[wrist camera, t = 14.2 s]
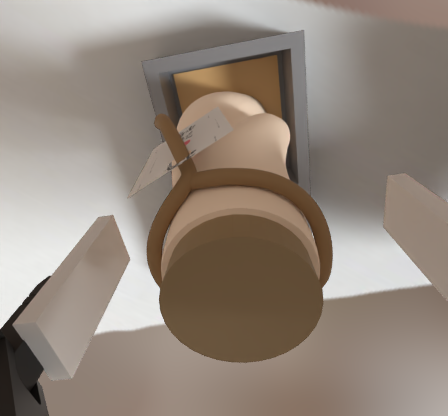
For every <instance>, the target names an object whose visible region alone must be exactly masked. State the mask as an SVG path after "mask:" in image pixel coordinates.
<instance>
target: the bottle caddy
mask: <svg viewBox="0 0 448 416" xmlns="http://www.w3.org/2000/svg"><path fill="white" fill-rule="evenodd" d="M141 62H142V66H143V70H144V73H145V77H146V81H147V84H148V88H149V92H150V96H151V99H152V103H153V107H154V111H155V114H156V116H157V115H158V114H165V115H167V116H168V117H169V118H170V119H171V121H172V122H173V124H174V126H175V127H176V129H177V126H178V123H179V120H180V118H181V116H182V114H183V113H184V111H185V110H186V109H187V108H188V107H189V106H190V105H191V104H192V103H193V102H194V101H196V100H197V99H199V98H201V97H203V96H205V95H208V94H211V93H216V92H224V91H229V92H236V93H241V94H246V95H249V96H251V97H253V98H255V99H257V100H258V101H259V102H260V103H261V104H262V105H263V107H264V108H265V110H266V112H267V113H269V114H272V115H275V116H277V117H279V118H281V119H282V120H283V121H284V122H285V123H286V124H287V126H288V128H289V131H290V142H289V145H288V148H287V154H286V170H287V173H288V176H289V179H290V180H291V181H292V182H294V183H296V184H297V185H299V186H300V187H301V188H302V189H304V190H305V191H306V192H307V193H308V194H309V195H310V196H311V193H310V168H309V143H308V118H307V93H306V67H305V42H304V30H301V31H296V32H290V33H285V34H280V35H275V36H270V37H265V38H260V39H254V40H249V41H244V42H239V43H234V44H229V45H224V46H218V47H213V48H208V49H203V50H198V51H193V52H188V53H182V54H177V55H172V56H167V57H162V58H157V59H152V60H146V61H141ZM160 133H161V137H162V140H163V142H165V141H166V140H165V138H164V136H163V134H162V132H161V130H160ZM169 166H170V167H172V162H171V163H170V164H169ZM171 174H172V170H171ZM305 218H306V217H305ZM306 221H307V219H306ZM307 223H308V221H307ZM308 225H309V223H308ZM309 228H310V230H311V227H310V225H309ZM311 233H312V230H311Z"/></svg>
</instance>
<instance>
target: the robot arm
mask: <svg viewBox="0 0 448 416" xmlns="http://www.w3.org/2000/svg"><path fill="white" fill-rule="evenodd" d="M383 227H384V229H385V230H386V231H387V232H388V233H389V234H390V236H391V237H392V238H393V239H394V240H395V241H396V243H397V244H398V245H399V246H400V247H401V248H402V249H403V251H404V252H405V253H406V254H407V255H408V256H409V258H410V259H411V260H412V261H413V262H414V263H415V265H416V266H417V267H418V268H419V269H420V270H421V272H422V273H423V274H424V275H425V276H426V277H427V278H428V280H429V281H430V282H431V283H432V284H433V285H434V286H435V288H436V289H437V290H438V291H439V292H440V294H441V295H442V296H443V297H444V298H445V299H446V300H447V302H448V203H447V202H446V201H444V200H443V199H441V198H440V197H439V196H437V195H436V194H434V193H433V192H431V191H430V190H429V189H427V188H426V187H424V186H423V185H421V184H420V183H419V182H417V181H416V180H414V179H413V178H411V177H410V176H409V175H407V174H406V173H402V174H395V175H388V176H387V188H386V199H385V211H384V222H383ZM129 261H130V257H129V255H128V252H127V250H126V247H125V245H124V242H123V239H122V237H121V234H120V232H119V229H118V227H117V224H116V221H115V219H114V216H113V215H110V216H103V217H98V218H97V220H96V221H95V222H94V223H93V225H92V226H91V227H90V228H89V230H88V231H87V232H86V233H85V235H84V236H83V237H82V238H81V240H80V241H79V242H78V243H77V245H76V246H75V247H74V248H73V250H72V251H71V252H70V253H69V255H68V256H67V257H66V258H65V260H64V261H63V262H62V263H61V265H60V266H59V267H58V268H57V270H56V271H55V272H54V273H53V274H52V276H48V277H47V278H46V279H44V280H43V281H42V282H41V283H39V284H38V285H37V286H36V287H35V288H34V290H33V291H32V292H31V293H30V294H29V297H27V298H26V299H25V300H24V302H23V303H22V305H20V306H19V308H18V309H17V310H16V311H15V312H14V314H13V315H12V316H11V317H10V318H9V320H8V321H7V322H6V323H5V324H4V326H3V327H2V328H1V329H0V416H49V414H48V410H47V406H46V401H45V398H44V393H43V389H42V386H41V385H40V383H39V382H38V378H39V377H40V375H41V373H42V372H43V370H44V371H45V372H46V374H47V375H48V377H49V378H50V379H51V381H53V380H64V379H72V378H73V376H74V374H75V372H76V370H77V367H78V366H79V364H80V362H81V359H82V357H83V355H84V353H85V351H86V349H87V347H88V345H89V343H90V341H91V339H92V337H93V335H94V333H95V331H96V329H97V327H98V325H99V323H100V320H101V318H102V316H103V314H104V312H105V310H106V308H107V306H108V304H109V302H110V300H111V298H112V296H113V294H114V292H115V290H116V288H117V286H118V284H119V281H120V279H121V277H122V275H123V273H124V271H125V269H126V267H127V265H128V263H129Z"/></svg>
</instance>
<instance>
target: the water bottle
mask: <svg viewBox="0 0 448 416" xmlns="http://www.w3.org/2000/svg"><path fill="white" fill-rule="evenodd" d="M154 124H155V127H156V128H157V129H160V130H161V132H162V134H163V136H164V138H165V140H166V141H165V142H163V143H162V144H160V145H159V146H157V147H156V148H154V149H153V151H152V153H151V155H150V157H149V158H148V160H147V162H146V164H145V166H144V168H143V170H142V172H141V173H140V175H139V177H138V179H137V181H136V183H135V185H134V186H133V188H132V190H131V192H130V194H129V196H128V198H129V197H130V196H132V195H134V194H135V193H137V192H138V191H140V190H141V189H143V188H144V187H146V186H148V185H149V184H151V183H152V182H154V181H155V180H157V179H158V178H160V177H161V176H163V175H165V174H166V173H168V172H169V171H171V170H172V190H171V192H170V193H169V195H168V196H167V198H166V199H165V201H164V202H163V204H162V206H161V207H160V209H159V211H158V213H157V215H156V217H155V219H154V221H153V224H152V226H151V229H150V232H149V236H148V241H147V261H148V265H149V269H150V272H151V274H152V276H153V278H154V280H155V282H156V283H157V285H158V286H159V287H160V295H159V303H160V311H161V314H162V317H163V319H164V322H165V324H166V325H167V327H168V328H169V330H170V331H171V333H172V334H173V335H174V336H175V337H176V338H177V339H178V340H179V341H180V342H181V343H183V344H184V345H186V346H187V347H189V348H190V349H192V350H193V351H195V352H198V353H200V354H202V355H204V356H207V357H210V358H213V359H216V360H221V361H228V362H244V363H245V362H246V363H247V362H256V361H262V360H266V359H270V358H274V357H276V356H279V355H281V354H284V353H286V352H288V351H289V350H291V349H293V348H294V347H296V346H298V345H299V344H300V343H301V342H302V341H304V340H305V339H306V338H307V337H308V336H309V335H310V333H311V332H312V331H313V329H314V328H315V327H316V325H317V323H318V321H319V318H320V316H321V313H322V306H323V292H322V288H323V286H324V285H325V284H326V282H327V281H328V279H329V276H330V273H331V268H332V259H333V251H332V241H331V235H330V231H329V228H328V225H327V222H326V219H325V217H324V215H323V213H322V211H321V209H320V208H319V206H318V205H317V203H316V202H315V201H314V199H313V198H312V197H311V196H310V195H309V194H308V193H307V192H306V191H305V190H304V189H302V188H301V187H300V186H299V185H297V184H296V183H294V182H292V181H291V180H290V179H289V176H288V173H287V170H286V154H287V148H288V145H289V142H290V131H289V128H288V126H287V124H286V123H285V122H284V121H283V120H282V119H281V118H279V117H277V116H275V115H272V114H269V113H267V112H266V110H265V108H264V107H263V105H262V104H261V103H260V102H259V101H258V100H257V99H255V98H253V97H251V96H249V95H246V94H241V93H236V92H229V91H224V92H216V93H211V94H208V95H205V96H203V97H201V98H199V99H197V100H196V101H194V102H193V103H192V104H191V105H190V106H189V107H188V108H187V109H186V110H185V111H184V113H183V114H182V116H181V118H180V120H179V123H178V126H177V129H176V127H175V126H174V124H173V122H172V121H171V119H170V118H169V117H168V116H167V115H165V114H158V115H157V116H156V118H155V122H154ZM171 162H172V167H168V165H169V164H170V163H171ZM305 217H306V218H305ZM306 219H307V221H308V223H309V225H310V227H311V230H312V232H313V235H312V233H311V230H310V228H309V225H308V223H307V221H306ZM169 225H170V228H169V231H168V235H167V238H166V242H165V246H164V249H163V255H162V247H163V241H164V237H165V234H166V232H167V229H168V227H169ZM313 236H314V238H313ZM314 240H315V241H314Z"/></svg>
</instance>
